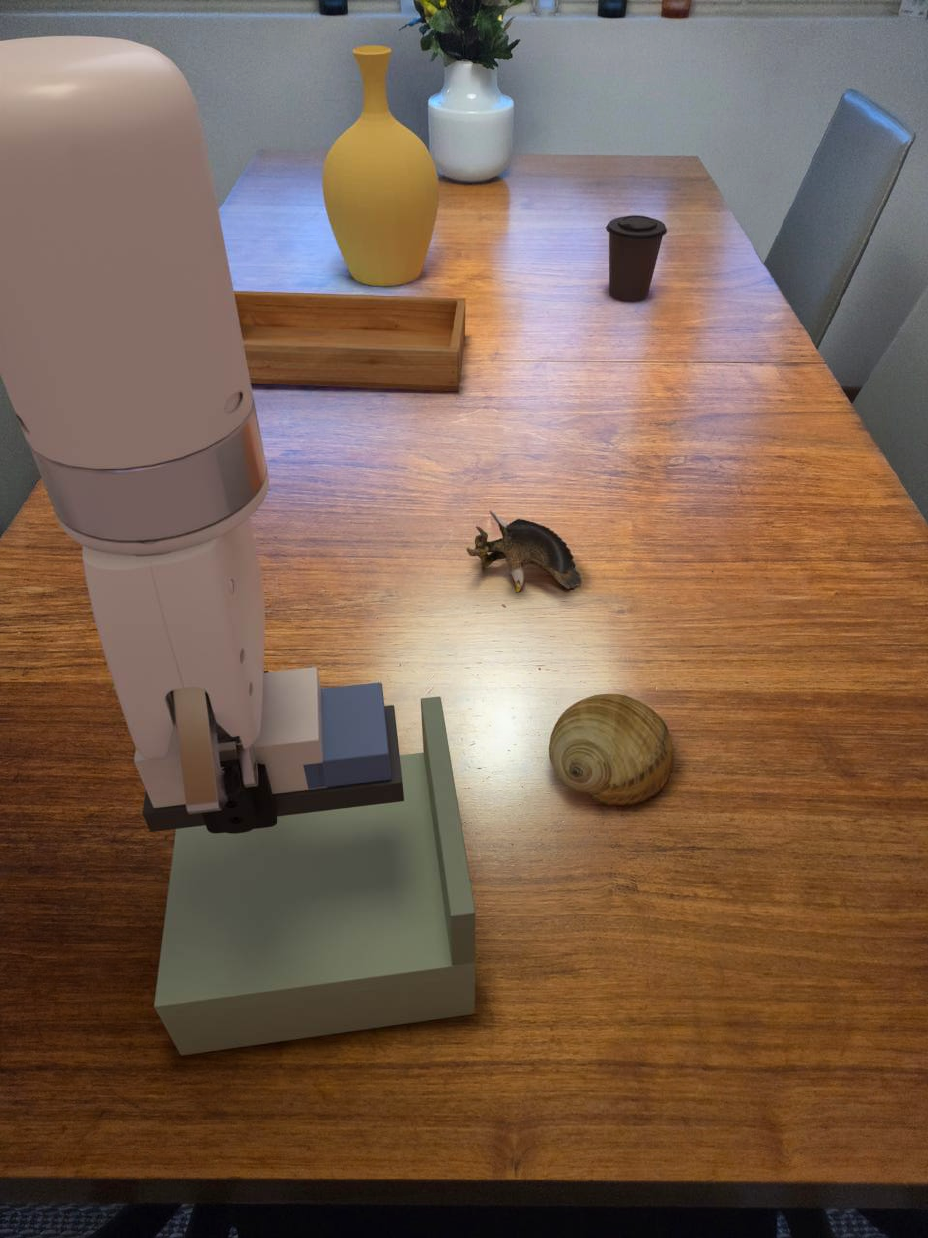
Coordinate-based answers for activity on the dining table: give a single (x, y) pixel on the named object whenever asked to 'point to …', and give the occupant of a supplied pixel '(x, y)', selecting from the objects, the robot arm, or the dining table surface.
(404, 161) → the vase
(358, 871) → the olive lipped platform
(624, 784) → the seashell
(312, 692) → the black base with blocks
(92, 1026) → the dining table surface
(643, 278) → the coffee cup
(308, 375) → the tray
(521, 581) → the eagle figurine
